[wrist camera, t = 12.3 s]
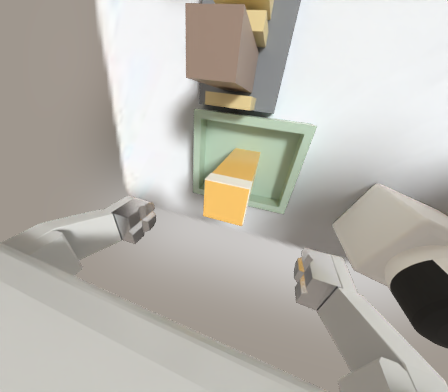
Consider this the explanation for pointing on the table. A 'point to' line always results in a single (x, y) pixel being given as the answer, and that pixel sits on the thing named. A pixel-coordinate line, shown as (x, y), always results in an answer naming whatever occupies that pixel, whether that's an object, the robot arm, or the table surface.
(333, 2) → the table surface
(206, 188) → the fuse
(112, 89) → the table surface
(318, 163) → the table surface
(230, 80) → the holder
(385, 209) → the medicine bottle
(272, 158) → the tray
